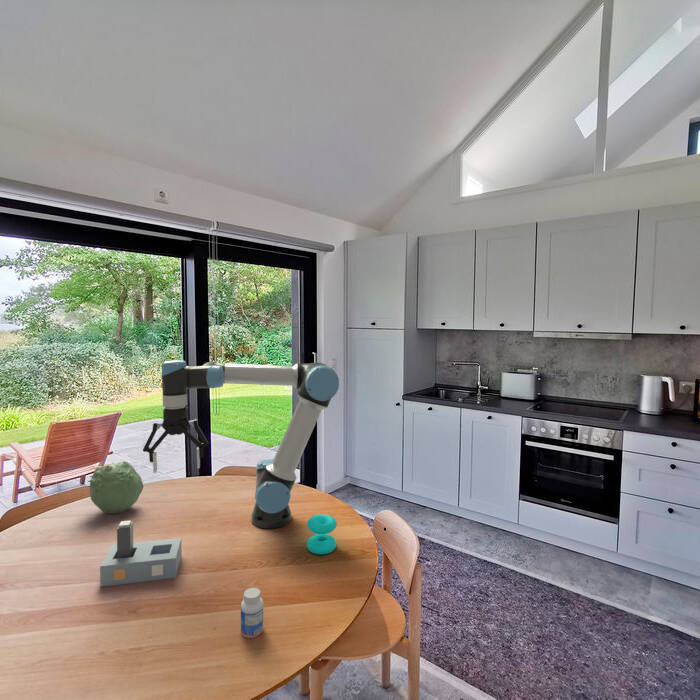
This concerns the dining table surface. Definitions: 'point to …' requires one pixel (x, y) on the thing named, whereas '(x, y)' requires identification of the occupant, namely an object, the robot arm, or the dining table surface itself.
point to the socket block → (142, 563)
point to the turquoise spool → (321, 534)
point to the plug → (125, 539)
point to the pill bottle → (252, 613)
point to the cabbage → (115, 487)
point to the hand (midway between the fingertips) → (177, 469)
